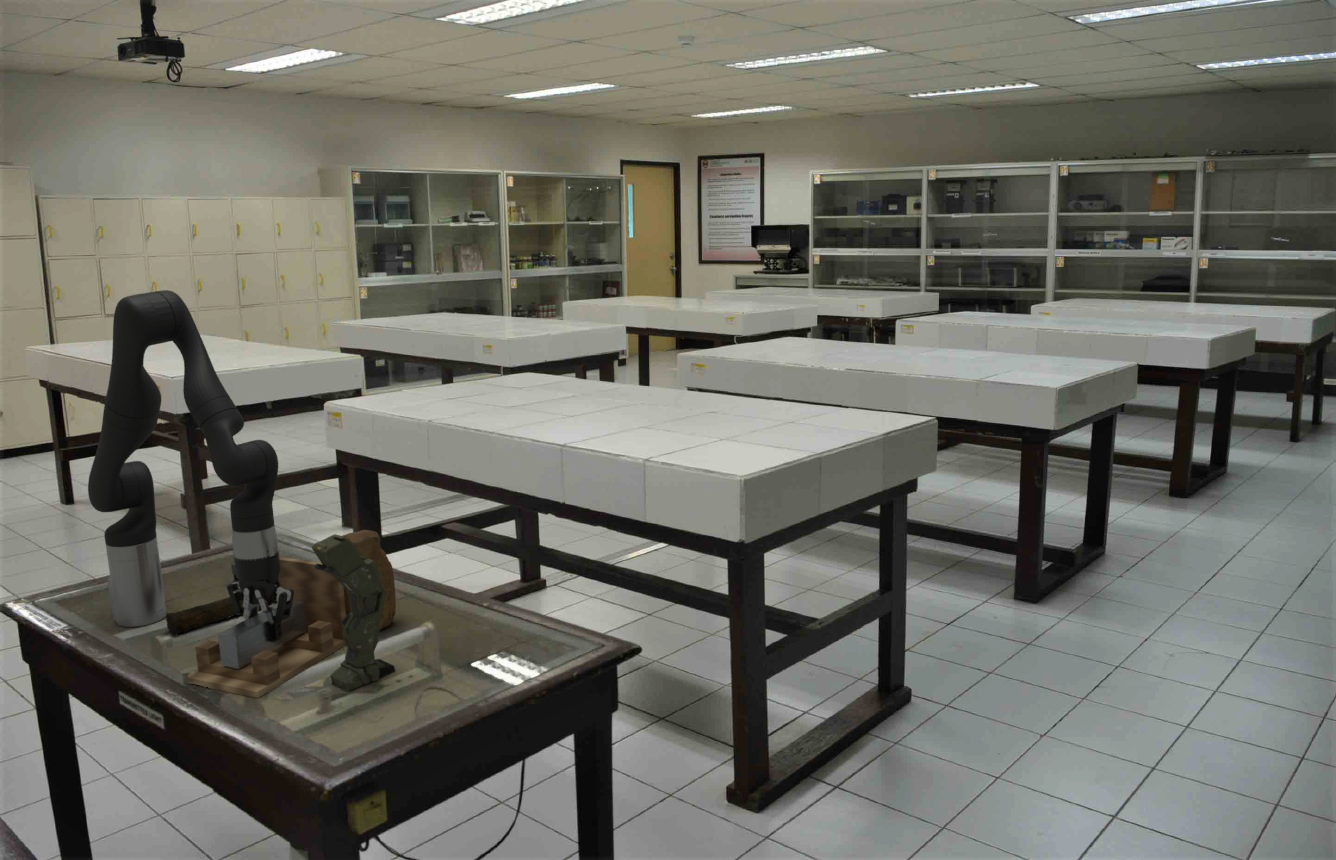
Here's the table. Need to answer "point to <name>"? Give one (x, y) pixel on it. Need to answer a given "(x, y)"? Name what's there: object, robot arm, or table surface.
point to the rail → (258, 636)
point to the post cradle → (293, 656)
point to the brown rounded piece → (371, 549)
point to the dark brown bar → (200, 615)
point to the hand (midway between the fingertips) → (265, 638)
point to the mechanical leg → (356, 610)
